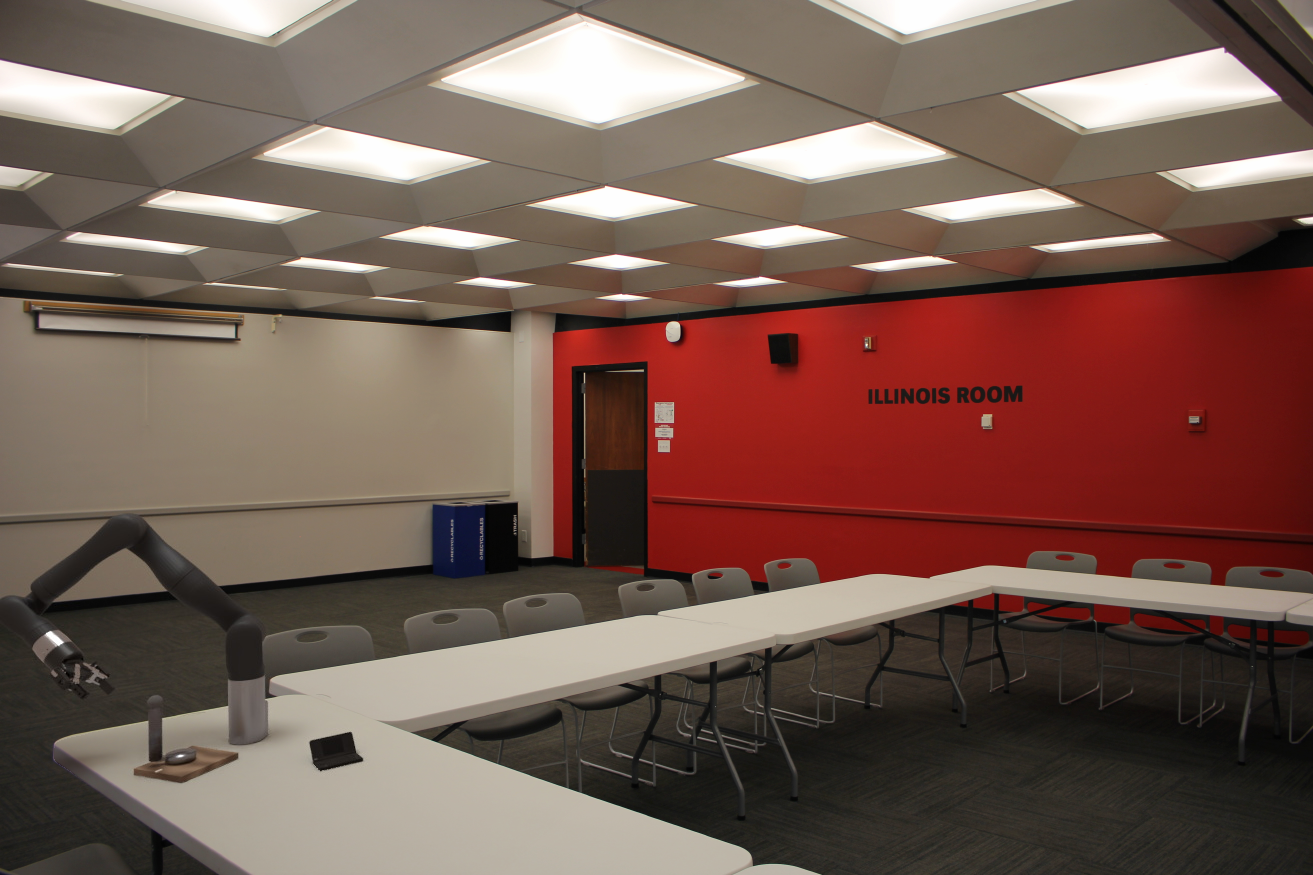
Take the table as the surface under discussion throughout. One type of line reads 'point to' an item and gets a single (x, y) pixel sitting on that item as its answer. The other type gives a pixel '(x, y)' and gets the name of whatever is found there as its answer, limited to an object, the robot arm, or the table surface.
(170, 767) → the walnut stand base
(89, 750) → the table surface
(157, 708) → the grey upright post stand
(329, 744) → the handheld gaming console
